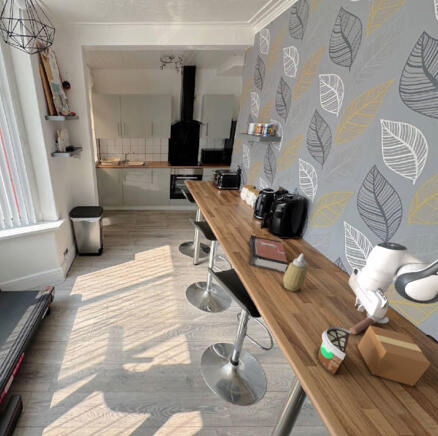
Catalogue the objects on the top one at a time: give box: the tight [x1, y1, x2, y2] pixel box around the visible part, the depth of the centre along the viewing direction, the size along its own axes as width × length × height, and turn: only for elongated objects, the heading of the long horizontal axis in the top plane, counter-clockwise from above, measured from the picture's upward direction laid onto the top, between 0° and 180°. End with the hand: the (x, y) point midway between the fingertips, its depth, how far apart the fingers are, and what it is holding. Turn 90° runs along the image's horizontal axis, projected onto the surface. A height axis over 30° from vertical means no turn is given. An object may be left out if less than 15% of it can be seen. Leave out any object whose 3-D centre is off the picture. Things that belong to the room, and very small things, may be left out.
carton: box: [357, 325, 432, 387], centre depth 73 cm, size 10×10×10 cm
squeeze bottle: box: [282, 252, 308, 292], centre depth 104 cm, size 8×8×18 cm
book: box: [248, 234, 289, 274], centre depth 131 cm, size 26×18×5 cm
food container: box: [317, 326, 352, 375], centre depth 74 cm, size 12×6×10 cm, turn 134°
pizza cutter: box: [348, 311, 390, 335], centre depth 89 cm, size 20×6×3 cm, turn 115°
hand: (358, 308), depth 94 cm, fingers closed
